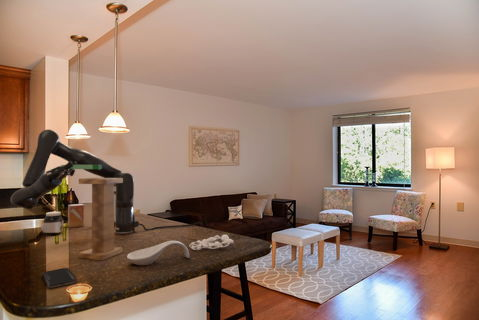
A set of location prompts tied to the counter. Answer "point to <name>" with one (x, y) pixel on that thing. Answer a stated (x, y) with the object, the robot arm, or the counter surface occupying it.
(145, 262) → the spoon rest
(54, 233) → the spread jar
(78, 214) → the small box
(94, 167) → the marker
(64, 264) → the counter surface
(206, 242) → the tangled rod sculpture
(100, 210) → the wooden pedestal stand
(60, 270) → the phone
